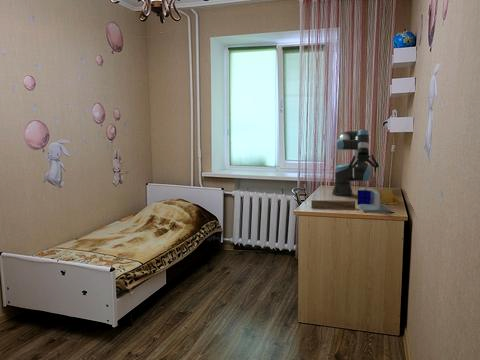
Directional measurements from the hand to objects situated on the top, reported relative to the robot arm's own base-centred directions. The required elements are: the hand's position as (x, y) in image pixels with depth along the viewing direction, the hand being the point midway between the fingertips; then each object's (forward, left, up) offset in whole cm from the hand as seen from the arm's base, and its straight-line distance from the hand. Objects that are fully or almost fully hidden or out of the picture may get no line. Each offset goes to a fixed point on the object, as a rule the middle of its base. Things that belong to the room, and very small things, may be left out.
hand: (363, 176), depth 279 cm
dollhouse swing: (+1, +18, -19) cm, 26 cm away
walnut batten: (+21, -21, -18) cm, 35 cm away
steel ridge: (+23, +5, -17) cm, 29 cm away
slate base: (+23, +5, -18) cm, 29 cm away
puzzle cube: (+4, +2, -18) cm, 19 cm away
